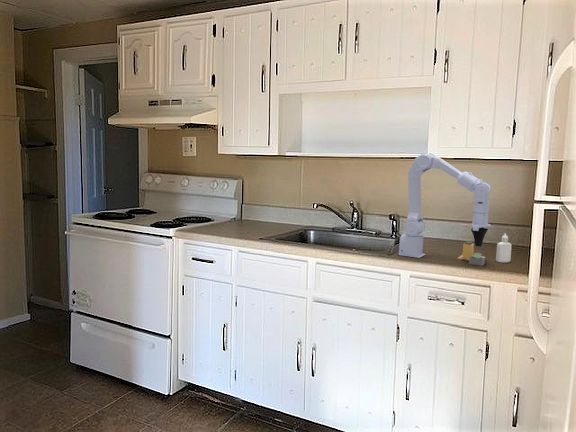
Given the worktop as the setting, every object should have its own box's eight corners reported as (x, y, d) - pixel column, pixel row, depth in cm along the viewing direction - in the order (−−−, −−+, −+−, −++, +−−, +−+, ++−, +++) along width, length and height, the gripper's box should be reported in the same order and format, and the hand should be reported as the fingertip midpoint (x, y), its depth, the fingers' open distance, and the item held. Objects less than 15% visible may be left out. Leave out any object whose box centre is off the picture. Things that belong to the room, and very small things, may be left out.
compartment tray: (456, 259, 201) (456, 257, 201) (462, 255, 209) (462, 253, 209) (480, 262, 196) (480, 260, 196) (485, 258, 204) (485, 256, 204)
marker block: (462, 257, 202) (463, 242, 201) (464, 255, 205) (465, 241, 204) (470, 258, 200) (472, 243, 199) (473, 257, 203) (474, 242, 202)
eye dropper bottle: (510, 263, 196) (513, 234, 194) (496, 262, 197) (498, 233, 196) (509, 261, 200) (512, 233, 198) (495, 260, 202) (497, 232, 200)
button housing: (469, 263, 194) (469, 258, 193) (472, 261, 198) (472, 255, 197) (482, 265, 191) (482, 259, 191) (484, 263, 195) (485, 257, 195)
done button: (472, 260, 194) (473, 253, 193) (474, 259, 196) (474, 252, 196) (479, 261, 192) (480, 254, 192) (481, 260, 195) (482, 253, 194)
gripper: (487, 215, 183) (484, 250, 185) (495, 211, 195) (492, 244, 197) (468, 214, 187) (465, 247, 189) (476, 210, 199) (474, 242, 201)
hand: (478, 246), depth 193 cm, fingers closed
